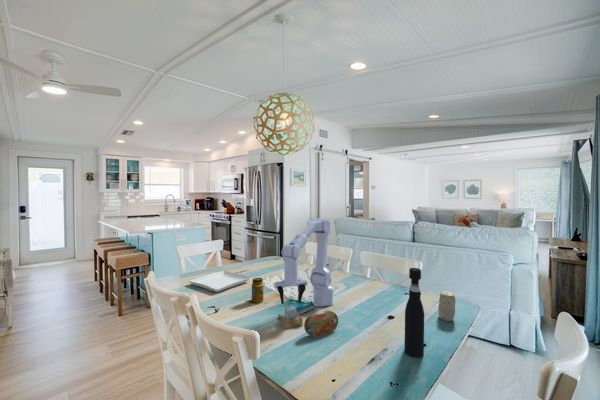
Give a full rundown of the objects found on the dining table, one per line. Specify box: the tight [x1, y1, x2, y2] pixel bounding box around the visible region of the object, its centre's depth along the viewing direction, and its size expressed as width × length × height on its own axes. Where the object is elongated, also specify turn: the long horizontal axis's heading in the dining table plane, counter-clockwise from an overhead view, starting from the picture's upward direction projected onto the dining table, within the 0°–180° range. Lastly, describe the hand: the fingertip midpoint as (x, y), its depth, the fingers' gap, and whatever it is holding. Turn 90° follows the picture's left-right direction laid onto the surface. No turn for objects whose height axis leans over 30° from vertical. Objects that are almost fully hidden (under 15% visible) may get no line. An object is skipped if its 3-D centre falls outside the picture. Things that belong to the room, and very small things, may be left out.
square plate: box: [188, 270, 252, 293], centre depth 176 cm, size 27×27×4 cm
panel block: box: [284, 304, 298, 319], centre depth 125 cm, size 4×7×6 cm, turn 14°
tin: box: [303, 310, 339, 338], centre depth 115 cm, size 15×3×8 cm, turn 117°
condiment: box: [245, 277, 267, 306], centre depth 147 cm, size 7×8×12 cm
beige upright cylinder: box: [437, 290, 456, 322], centre depth 128 cm, size 6×8×12 cm
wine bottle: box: [404, 267, 425, 359], centre depth 101 cm, size 6×6×30 cm
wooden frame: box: [277, 312, 304, 329], centre depth 125 cm, size 9×11×4 cm
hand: (290, 302), depth 124 cm, fingers open, 7 cm apart
